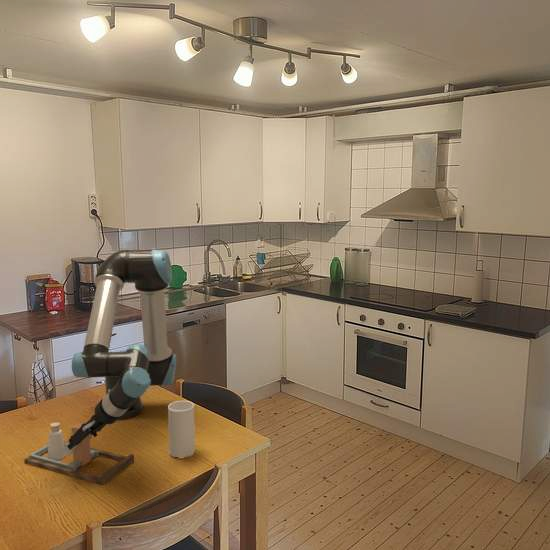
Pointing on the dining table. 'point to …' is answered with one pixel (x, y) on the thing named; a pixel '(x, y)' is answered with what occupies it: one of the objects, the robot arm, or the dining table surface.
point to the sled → (80, 453)
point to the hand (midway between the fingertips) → (72, 448)
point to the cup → (181, 428)
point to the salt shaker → (56, 443)
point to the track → (102, 479)
